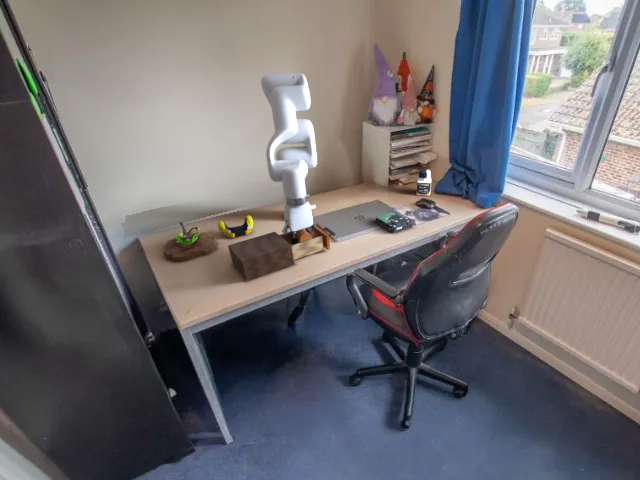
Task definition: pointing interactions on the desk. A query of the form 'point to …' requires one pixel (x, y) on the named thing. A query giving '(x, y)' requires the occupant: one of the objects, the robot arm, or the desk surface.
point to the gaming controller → (236, 228)
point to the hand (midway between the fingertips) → (302, 243)
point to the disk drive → (394, 222)
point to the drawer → (310, 242)
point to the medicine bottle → (424, 182)
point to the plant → (189, 245)
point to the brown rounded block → (302, 236)
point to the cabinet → (261, 255)
